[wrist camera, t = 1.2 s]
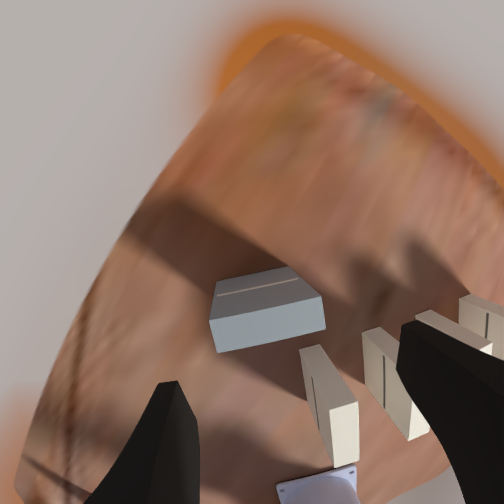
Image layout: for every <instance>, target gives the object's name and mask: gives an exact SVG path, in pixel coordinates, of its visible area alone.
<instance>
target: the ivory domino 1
mask: <svg viewBox="0 0 504 504" xmlns="http://www.w3.org/2000/svg"><path fill="white" fill-rule="evenodd" d="M299 352H300V358H301V365H302V371H303V377H304V383H305V390H306V396H307V402H308V405H309V407H310V409H311V412H312V414H313V417H314V419H315V422H316V424H317V427H318V429H319V432H320V434H321V436H322V439H323V441H324V444H325V446H326V449H327V451H328V454H329V456H330V458H331V461H332V463H333V466H334V468H337V467H340V466H343V465H347V464H350V463H353V462H356V461H359V413H358V401H357V399H356V398H355V396H354V395H353V393H352V392H351V390H350V389H349V387H348V386H347V384H346V383H345V381H344V380H343V378H342V377H341V375H340V374H339V372H338V371H337V369H336V368H335V366H334V365H333V363H332V362H331V360H330V359H329V357H328V356H327V354H326V353H325V351H324V350H323V348H322V347H321V345H320V344H318V345H314V346H310V347H306V348H302V349H299Z"/></svg>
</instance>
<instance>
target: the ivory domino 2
mask: <svg viewBox="0 0 504 504" xmlns="http://www.w3.org/2000/svg"><path fill="white" fill-rule="evenodd" d="M361 333H362V345H363V359H364V377H365V386H366V387H367V388H368V390H369V391H370V392H371V393H372V395H373V396H374V397H375V399H376V400H377V401H378V403H379V404H380V405H381V406H382V408H383V409H384V410H385V412H386V413H387V414H388V416H389V417H390V418H391V419H392V421H393V422H394V423H395V425H396V426H397V427H398V429H399V430H400V431H401V433H402V434H403V435H404V436H405V438H406V439H407V440H408V441H410V440H412V439H415V438H417V437H419V436H421V435H423V434H425V433H427V432H429V427H430V426H429V424H428V423H427V421H426V420H425V418H424V417H423V415H422V414H421V412H420V411H419V410H418V408H417V407H416V405H415V404H414V402H413V401H412V399H411V398H410V396H409V395H408V393H407V391H406V389H405V387H404V386H403V384H402V382H401V380H400V377H399V375H398V373H397V371H396V363H397V356H398V350H399V341H397V340H396V339H395V338H394V337H392V336H391V335H390V334H388V333H387V332H386V331H385V330H383V329H382V328H381V327H377V328H374V329H371V330H368V331H364V332H361Z"/></svg>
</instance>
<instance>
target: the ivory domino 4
mask: <svg viewBox="0 0 504 504" xmlns="http://www.w3.org/2000/svg"><path fill="white" fill-rule="evenodd" d="M459 325H461V326H463V327H465V328H467V329H469V330H471V331H473V332H474V333H476V334H478V335H480V336H482V337H484V338H486V339H488V340H489V341H491V342H493V345H492V354H491V355H492V356H494V357H496V358H499V359H501V360H504V306H502V305H499V304H497V303H494V302H491V301H489V300H486V299H484V298H481V297H478V296H476V295H473V294H469V295H467V296H464V297H462V298H459Z"/></svg>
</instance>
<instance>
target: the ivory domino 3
mask: <svg viewBox="0 0 504 504" xmlns="http://www.w3.org/2000/svg"><path fill="white" fill-rule="evenodd" d="M415 320H419V321H421V322H423V323H426V324H428V325H430V326H432V327H434V328H436V329H438V330H440V331H442V332H443V333H445V334H447V335H449V336H451V337H453V338H455V339H457V340H459V341H461V342H463V343H465V344H467V345H469V346H472V347H474V348H476V349H478V350H480V351H482V352H485V353H487V354H489V355H491V354H492V345H493V342H491V341H489V340H488V339H486V338H484V337H482V336H480V335H478V334H476V333H474V332H473V331H471V330H469V329H467V328H465V327H463V326H461V325H459V324H457V323H455V322H453V321H452V320H450V319H448V318H446V317H444V316H442V315H440V314H438V313H436V312H434V311H432V310H428V311H425V312H422V313H419V314H416V315H415Z"/></svg>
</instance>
